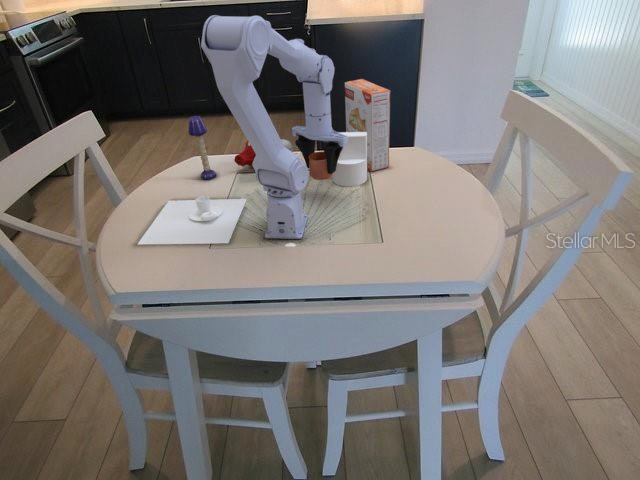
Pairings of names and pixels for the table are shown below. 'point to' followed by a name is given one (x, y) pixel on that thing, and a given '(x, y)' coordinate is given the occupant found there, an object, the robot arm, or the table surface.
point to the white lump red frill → (254, 154)
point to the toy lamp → (201, 145)
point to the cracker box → (369, 119)
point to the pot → (318, 166)
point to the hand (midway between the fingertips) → (321, 169)
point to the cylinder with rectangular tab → (352, 161)
